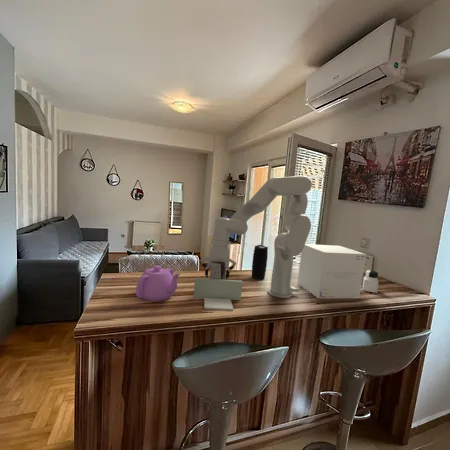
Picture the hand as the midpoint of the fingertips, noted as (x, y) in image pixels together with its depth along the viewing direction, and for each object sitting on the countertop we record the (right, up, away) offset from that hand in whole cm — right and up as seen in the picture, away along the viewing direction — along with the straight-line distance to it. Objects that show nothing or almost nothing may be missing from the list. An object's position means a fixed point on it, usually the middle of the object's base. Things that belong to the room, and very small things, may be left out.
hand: (216, 277), depth 128 cm
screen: (0, -9, -6) cm, 10 cm away
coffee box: (0, -8, +1) cm, 8 cm away
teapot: (-25, -7, -10) cm, 28 cm away
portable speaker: (+24, -7, +32) cm, 41 cm away
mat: (+1, -9, -13) cm, 16 cm away
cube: (+61, -12, +20) cm, 65 cm away
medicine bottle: (+89, -13, +27) cm, 93 cm away
